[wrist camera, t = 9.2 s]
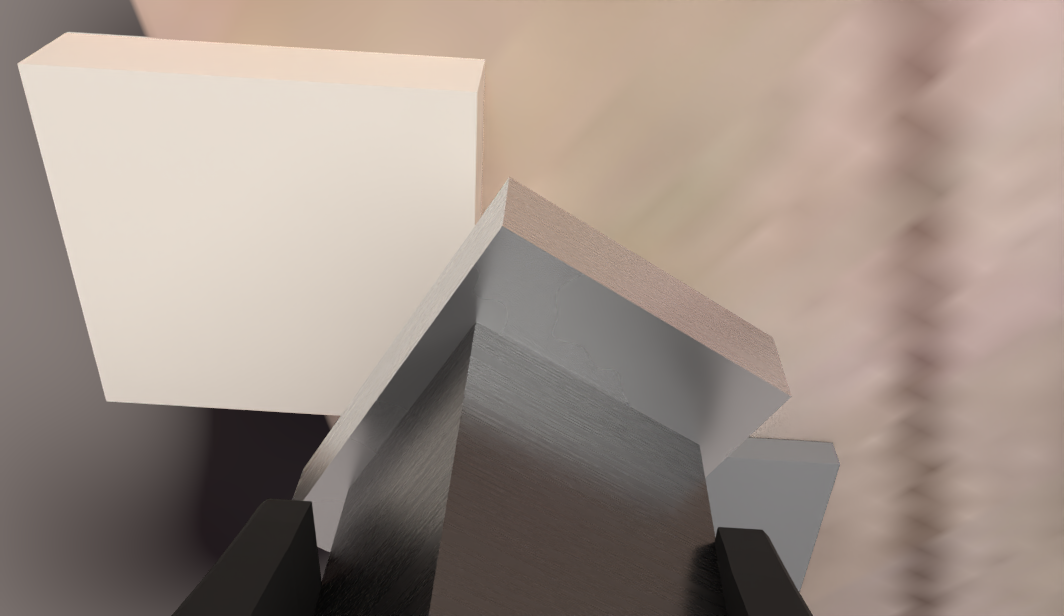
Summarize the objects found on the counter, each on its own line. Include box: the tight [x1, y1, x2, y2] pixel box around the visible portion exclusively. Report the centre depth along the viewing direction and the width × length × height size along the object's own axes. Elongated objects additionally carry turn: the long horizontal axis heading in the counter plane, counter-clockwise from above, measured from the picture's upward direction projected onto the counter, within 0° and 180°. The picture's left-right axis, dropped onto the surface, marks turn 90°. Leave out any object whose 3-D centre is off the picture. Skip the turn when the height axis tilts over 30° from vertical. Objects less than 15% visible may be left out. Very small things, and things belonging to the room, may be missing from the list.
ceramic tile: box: [18, 32, 485, 416], centre depth 20 cm, size 2×8×8 cm
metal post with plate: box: [293, 177, 791, 616], centre depth 12 cm, size 5×7×8 cm
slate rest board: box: [705, 438, 840, 592], centre depth 26 cm, size 11×10×1 cm
